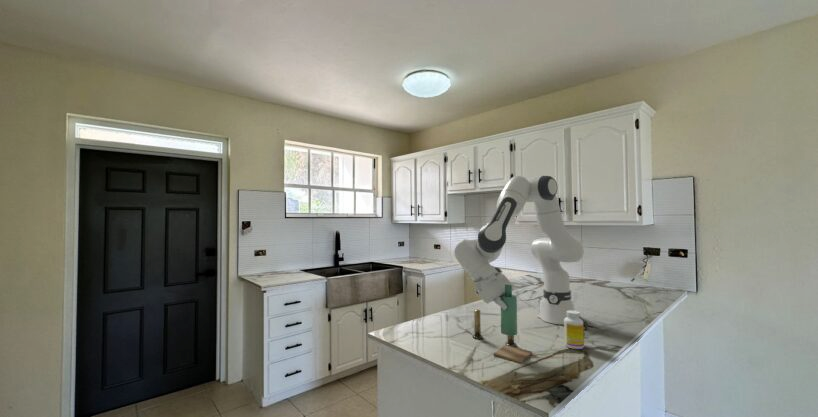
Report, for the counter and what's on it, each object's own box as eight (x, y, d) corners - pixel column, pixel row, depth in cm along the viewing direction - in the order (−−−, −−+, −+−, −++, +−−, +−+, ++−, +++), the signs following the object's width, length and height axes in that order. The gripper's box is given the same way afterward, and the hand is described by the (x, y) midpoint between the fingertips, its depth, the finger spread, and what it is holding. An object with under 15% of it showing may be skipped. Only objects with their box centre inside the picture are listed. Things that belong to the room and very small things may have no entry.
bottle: (504, 329, 123) (504, 283, 123) (519, 332, 119) (518, 284, 120) (498, 333, 118) (497, 285, 119) (513, 336, 115) (512, 287, 115)
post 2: (507, 342, 129) (507, 314, 129) (518, 345, 126) (517, 316, 127) (503, 345, 126) (503, 316, 126) (514, 348, 123) (513, 318, 124)
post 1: (475, 335, 138) (475, 308, 138) (484, 337, 135) (483, 309, 136) (470, 337, 135) (470, 310, 135) (479, 339, 132) (479, 312, 132)
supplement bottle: (587, 349, 121) (586, 314, 122) (569, 349, 122) (568, 314, 122) (578, 343, 128) (577, 309, 129) (561, 343, 128) (560, 309, 129)
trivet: (505, 347, 124) (505, 345, 124) (532, 353, 118) (531, 351, 118) (493, 355, 117) (493, 353, 117) (521, 363, 110) (521, 360, 110)
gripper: (477, 274, 116) (504, 307, 109) (501, 267, 132) (526, 296, 125) (466, 286, 119) (492, 318, 112) (491, 277, 134) (515, 306, 128)
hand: (510, 306), depth 119 cm, fingers closed on bottle, 6 cm apart
